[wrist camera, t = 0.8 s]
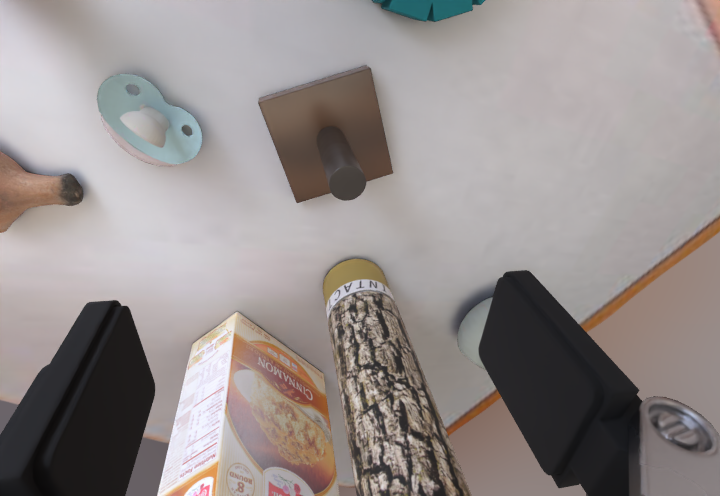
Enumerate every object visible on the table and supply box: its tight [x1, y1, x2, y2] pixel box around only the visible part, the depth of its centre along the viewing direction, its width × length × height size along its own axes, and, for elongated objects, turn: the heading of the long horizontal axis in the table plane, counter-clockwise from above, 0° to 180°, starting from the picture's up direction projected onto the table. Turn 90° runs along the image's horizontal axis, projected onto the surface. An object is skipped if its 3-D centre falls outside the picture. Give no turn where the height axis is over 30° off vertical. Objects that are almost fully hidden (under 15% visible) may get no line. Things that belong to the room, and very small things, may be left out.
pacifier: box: [97, 74, 202, 166], centre depth 29 cm, size 7×6×6 cm
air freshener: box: [457, 297, 493, 370], centre depth 46 cm, size 11×8×10 cm
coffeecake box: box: [157, 312, 339, 496], centre depth 39 cm, size 15×7×20 cm, turn 36°
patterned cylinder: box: [323, 259, 472, 496], centre depth 33 cm, size 7×7×25 cm
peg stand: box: [258, 66, 393, 203], centre depth 30 cm, size 9×9×10 cm
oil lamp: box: [0, 152, 83, 233], centre depth 30 cm, size 9×4×8 cm
